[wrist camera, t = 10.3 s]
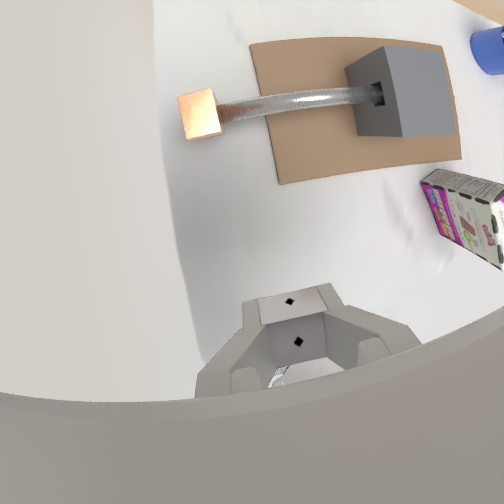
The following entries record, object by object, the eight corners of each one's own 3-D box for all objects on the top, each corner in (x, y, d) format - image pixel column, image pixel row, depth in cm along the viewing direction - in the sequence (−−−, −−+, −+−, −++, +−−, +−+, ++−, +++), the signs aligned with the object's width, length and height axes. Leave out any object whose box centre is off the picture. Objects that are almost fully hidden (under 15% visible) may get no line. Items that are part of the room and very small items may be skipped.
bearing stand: (458, 158, 38) (511, 171, 26) (279, 183, 39) (299, 203, 27) (438, 47, 31) (488, 32, 19) (249, 46, 32) (256, 7, 20)
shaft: (395, 111, 30) (432, 108, 23) (198, 140, 31) (186, 139, 23) (389, 81, 29) (424, 71, 21) (191, 107, 29) (177, 96, 22)
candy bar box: (457, 219, 42) (521, 253, 27) (439, 235, 43) (502, 274, 28) (438, 165, 39) (510, 184, 23) (418, 180, 39) (490, 205, 24)
